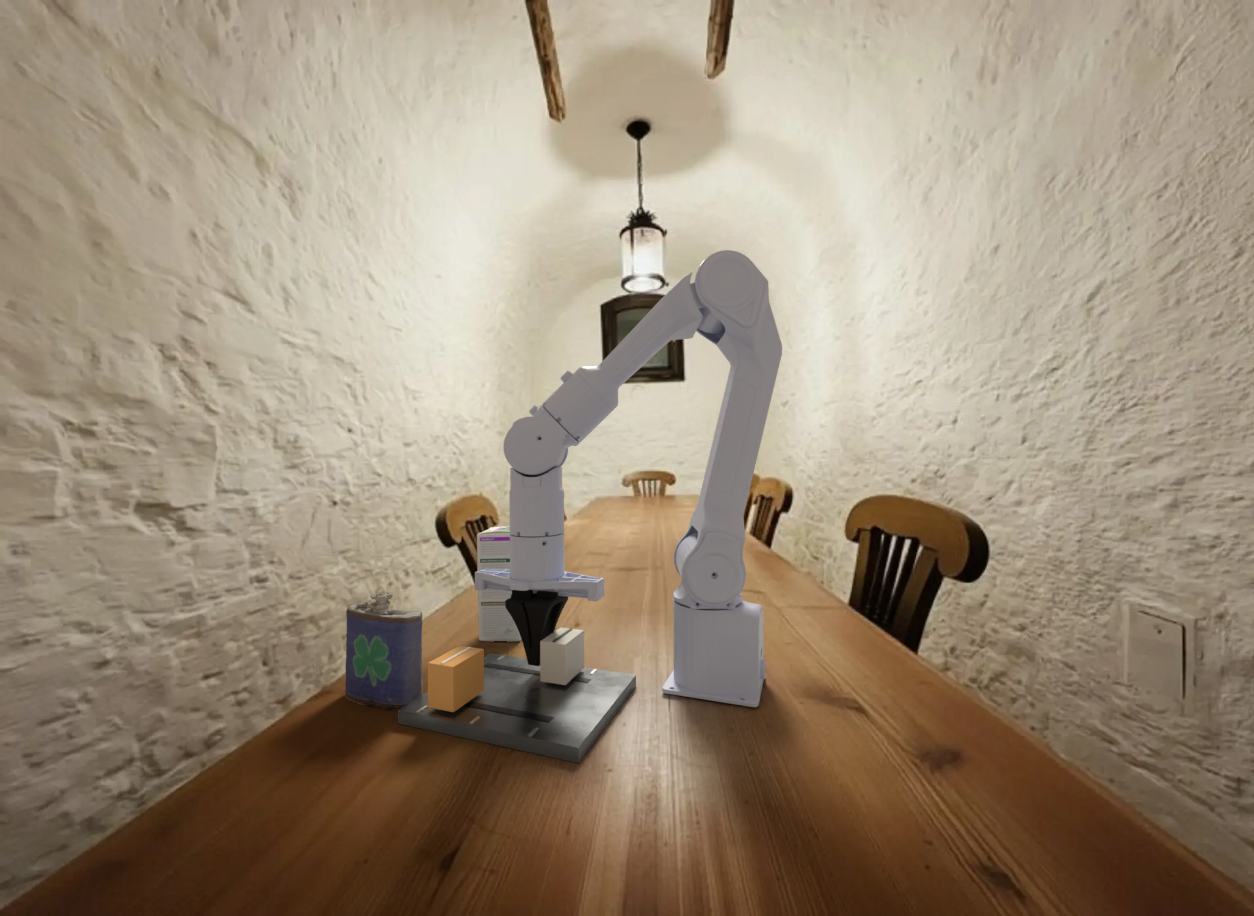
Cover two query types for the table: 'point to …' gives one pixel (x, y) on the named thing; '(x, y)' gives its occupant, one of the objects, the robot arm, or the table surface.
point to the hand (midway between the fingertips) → (538, 661)
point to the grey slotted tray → (530, 709)
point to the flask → (383, 654)
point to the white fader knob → (561, 655)
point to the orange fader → (455, 678)
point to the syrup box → (492, 602)
